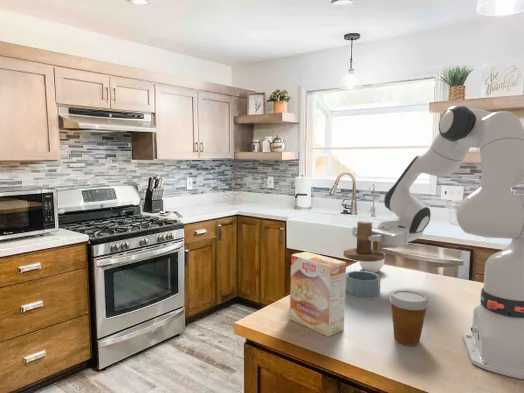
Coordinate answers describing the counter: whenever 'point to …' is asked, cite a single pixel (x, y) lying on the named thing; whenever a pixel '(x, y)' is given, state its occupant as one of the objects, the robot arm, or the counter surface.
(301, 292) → the coffeecake box
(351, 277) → the bowl
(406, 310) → the disposable coffee cup
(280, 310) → the counter surface
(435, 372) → the counter surface
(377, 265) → the lidded jar
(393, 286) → the counter surface
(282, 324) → the counter surface
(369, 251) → the lid
